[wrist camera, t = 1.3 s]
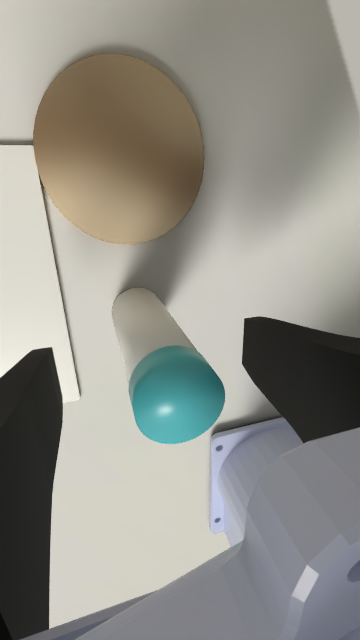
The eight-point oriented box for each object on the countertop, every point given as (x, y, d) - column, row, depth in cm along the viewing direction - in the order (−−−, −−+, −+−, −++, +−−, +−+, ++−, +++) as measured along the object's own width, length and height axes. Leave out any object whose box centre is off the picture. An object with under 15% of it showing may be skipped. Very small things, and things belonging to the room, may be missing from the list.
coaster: (201, 237, 16) (204, 238, 15) (52, 248, 14) (52, 250, 13) (200, 64, 13) (204, 60, 12) (16, 50, 11) (13, 46, 11)
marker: (164, 331, 17) (223, 432, 10) (113, 339, 16) (138, 452, 9) (161, 283, 16) (226, 357, 9) (107, 289, 15) (130, 374, 8)
